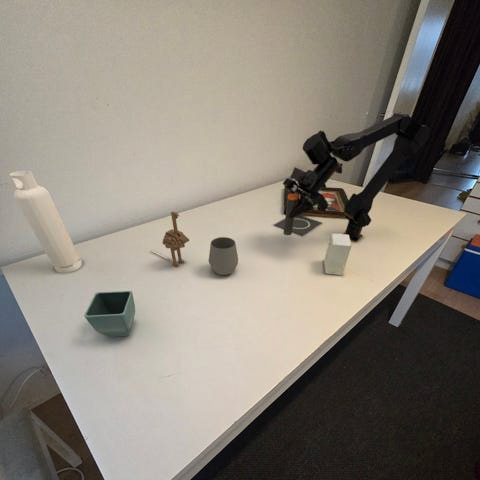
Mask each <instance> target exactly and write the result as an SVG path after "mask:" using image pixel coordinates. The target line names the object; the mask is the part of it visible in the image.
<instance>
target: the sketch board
mask: <svg viewBox="0 0 480 480" xmlns="http://www.w3.org/2000/svg"><path fill="white" fill-rule="evenodd" d="M284 224H285V218H284V219H282V220H280V221H278V222H277V223H275V224H273V225H274V226H275V227H277V228H280V229H282V230H284ZM320 225H322V222H321V221H318V220H315V219H312V218H309V217H306V216H303V215H301V214H299V215H297V216H295V217H294V223H293V230H292V234H296V235H299V236H301V237H302V236H305V235H306V234H308V232H311V231H312V230H313V229H315V228H317V227H318V226H320Z"/></svg>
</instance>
